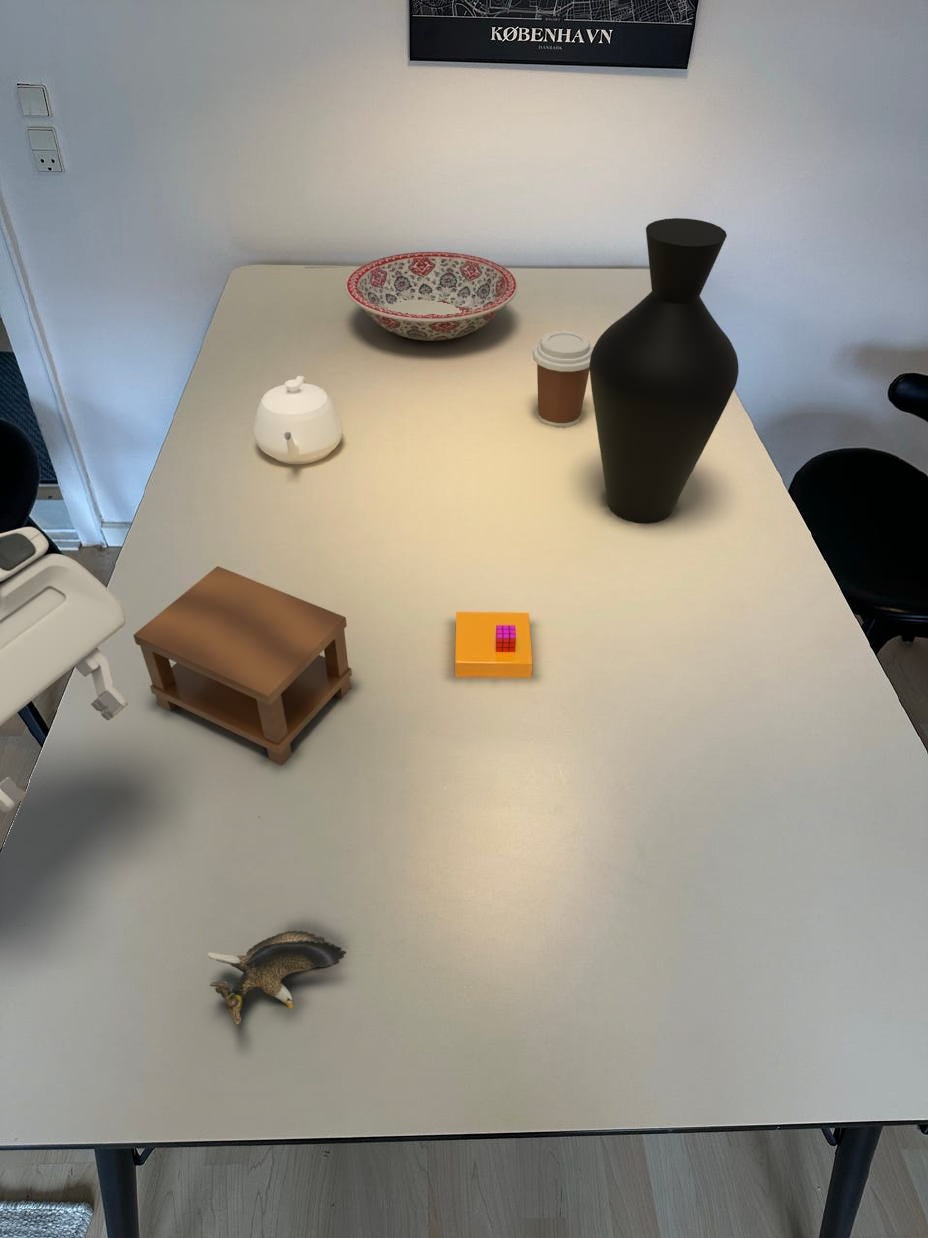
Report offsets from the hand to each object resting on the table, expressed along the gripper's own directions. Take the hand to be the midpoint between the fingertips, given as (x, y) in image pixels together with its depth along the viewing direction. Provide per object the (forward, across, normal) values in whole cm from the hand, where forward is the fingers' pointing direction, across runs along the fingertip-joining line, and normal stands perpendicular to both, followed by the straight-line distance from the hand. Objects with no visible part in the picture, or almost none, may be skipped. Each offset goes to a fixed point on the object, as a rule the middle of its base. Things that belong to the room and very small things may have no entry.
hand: (69, 756), depth 64 cm
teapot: (-8, +64, +34) cm, 73 cm away
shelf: (+9, +23, +16) cm, 29 cm away
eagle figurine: (+24, 0, +2) cm, 24 cm away
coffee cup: (+12, +91, +14) cm, 93 cm away
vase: (+25, +75, +1) cm, 79 cm away
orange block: (+22, +41, +4) cm, 47 cm away
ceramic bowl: (-11, +108, +37) cm, 115 cm away
